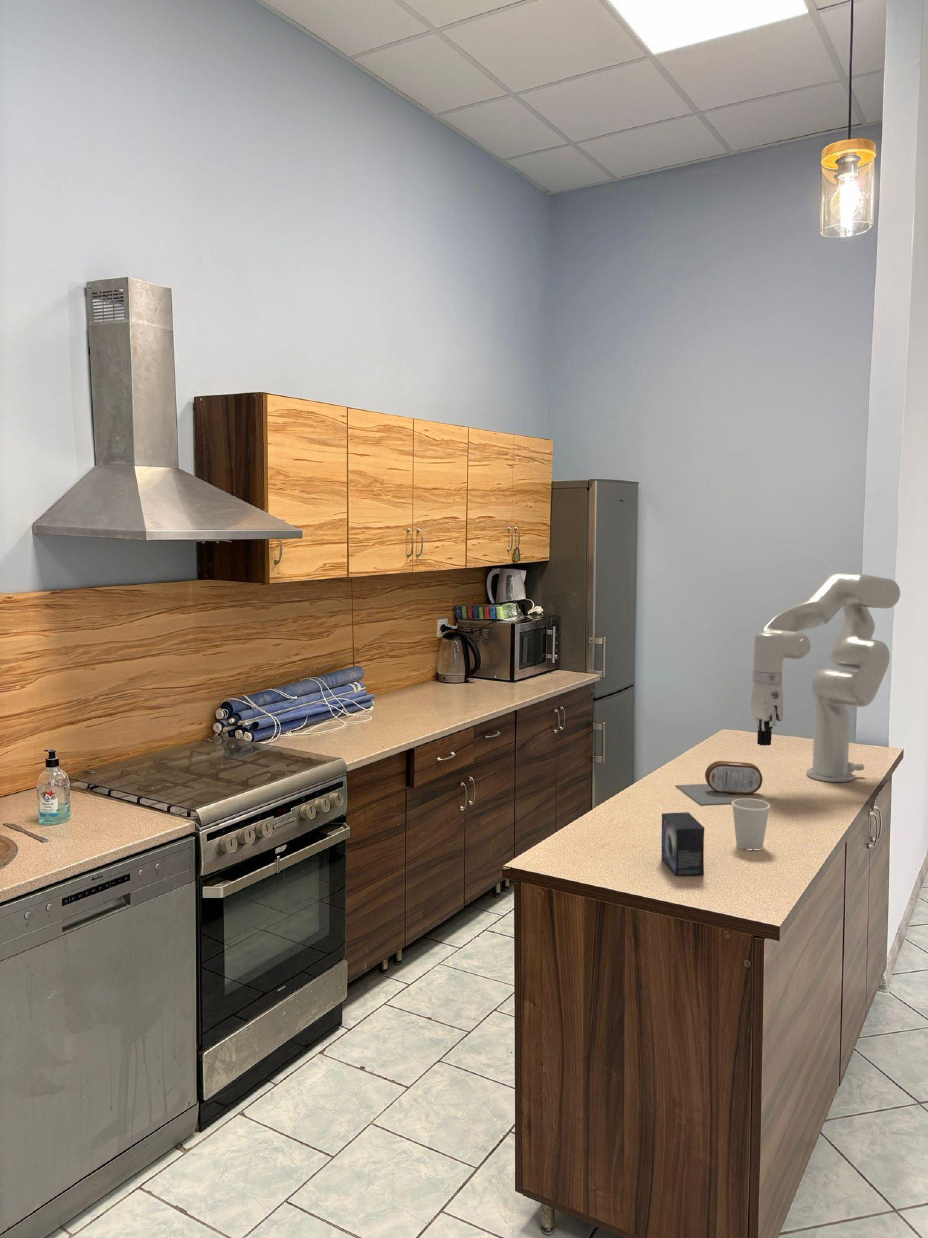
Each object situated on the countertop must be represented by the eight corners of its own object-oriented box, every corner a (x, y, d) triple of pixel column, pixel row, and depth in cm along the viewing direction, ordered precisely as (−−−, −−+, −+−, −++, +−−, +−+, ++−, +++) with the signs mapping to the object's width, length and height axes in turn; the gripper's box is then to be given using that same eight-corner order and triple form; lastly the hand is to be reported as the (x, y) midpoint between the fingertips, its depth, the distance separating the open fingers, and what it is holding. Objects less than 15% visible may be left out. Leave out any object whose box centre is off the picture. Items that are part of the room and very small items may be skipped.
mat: (712, 784, 255) (712, 783, 255) (740, 803, 237) (740, 802, 237) (675, 786, 253) (675, 785, 253) (700, 805, 235) (700, 804, 235)
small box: (659, 859, 197) (659, 812, 196) (688, 858, 198) (689, 811, 197) (674, 877, 187) (675, 828, 186) (704, 876, 187) (706, 827, 186)
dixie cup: (763, 855, 199) (765, 811, 198) (725, 848, 203) (727, 805, 202) (772, 844, 206) (774, 801, 205) (736, 838, 210) (737, 796, 210)
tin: (759, 792, 247) (762, 762, 246) (762, 796, 244) (764, 765, 243) (703, 789, 248) (705, 759, 248) (705, 792, 245) (707, 762, 244)
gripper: (794, 682, 237) (790, 751, 239) (767, 674, 252) (764, 738, 254) (767, 682, 236) (763, 751, 238) (742, 674, 251) (739, 739, 252)
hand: (764, 744), depth 246 cm, fingers closed
